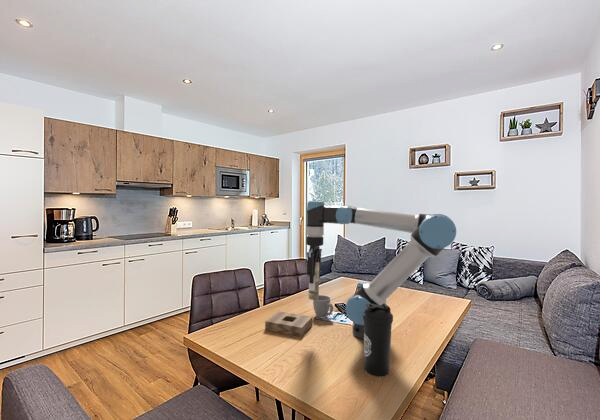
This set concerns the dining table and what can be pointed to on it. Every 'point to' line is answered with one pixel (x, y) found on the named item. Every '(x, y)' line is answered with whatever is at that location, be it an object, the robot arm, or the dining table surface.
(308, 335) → the dining table surface
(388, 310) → the water bottle
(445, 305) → the dining table surface
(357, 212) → the robot arm
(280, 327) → the board
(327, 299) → the mug
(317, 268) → the peg
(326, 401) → the dining table surface
